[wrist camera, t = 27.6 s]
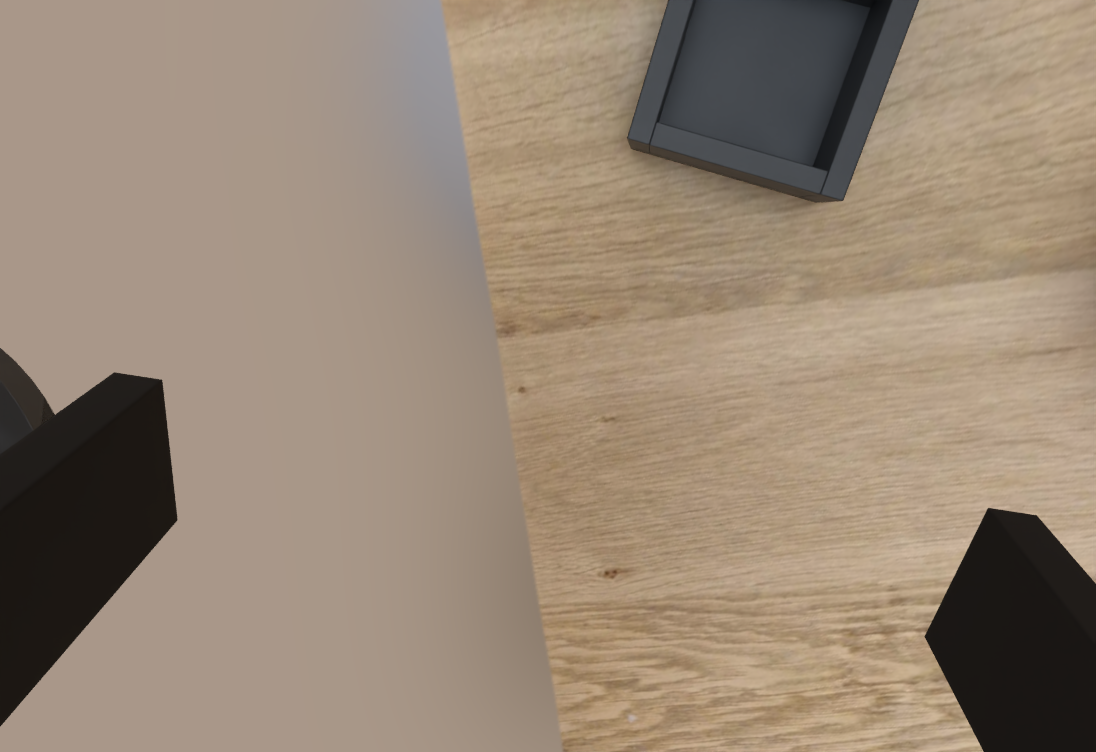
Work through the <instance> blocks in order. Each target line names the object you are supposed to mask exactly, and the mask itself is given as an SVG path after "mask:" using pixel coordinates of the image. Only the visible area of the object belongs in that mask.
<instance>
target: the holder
mask: <svg viewBox="0 0 1096 752" xmlns="http://www.w3.org/2000/svg"><path fill="white" fill-rule="evenodd" d="M918 2H919V0H668V3H667V7H666V10H665V13H664V17H663V20H662V23H661V27H660V30H659V33H658V37H657V40H656V43H655V47H654V50H653V53H652V57H651V60H650V63H649V67H648V70H647V73H646V77H645V80H644V84H643V87H642V90H641V94H640V97H639V100H638V104H637V107H636V110H635V114H634V117H633V120H632V124H631V127H630V130H629V134H628V137H627V138H628V141H629V144H630V147H631V148H632V149H634V150H637V151H641V152H644V153H648V154H651V155H654V156H658V157H661V158H665V159H668V160H672V161H675V162H679V163H682V164H685V165H689V166H692V167H696V168H699V169H703V170H706V171H709V172H713V173H716V174H720V175H723V176H727V177H730V178H734V179H737V180H740V181H744V182H747V183H751V184H754V185H758V186H761V187H765V188H768V189H771V190H775V191H778V192H782V193H785V194H789V195H792V196H795V197H799V198H802V199H806V200H809V201H813V202H834V201H843V200H844V197H845V195H846V192H847V189H848V187H849V184H850V181H851V179H852V176H853V174H854V171H855V168H856V166H857V163H858V160H859V158H860V155H861V152H862V150H863V147H864V144H865V142H866V139H867V137H868V134H869V131H870V129H871V126H872V123H873V121H874V118H875V115H876V113H877V110H878V107H879V105H880V102H881V99H882V97H883V94H884V92H885V89H886V86H887V84H888V81H889V78H890V76H891V73H892V70H893V68H894V65H895V62H896V60H897V57H898V55H899V52H900V49H901V47H902V44H903V41H904V39H905V36H906V33H907V31H908V28H909V25H910V23H911V20H912V18H913V15H914V12H915V10H916V7H917V4H918Z"/></svg>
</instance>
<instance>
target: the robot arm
mask: <svg viewBox="0 0 1096 752" xmlns="http://www.w3.org/2000/svg"><path fill="white" fill-rule="evenodd" d="M176 521H177V512H176V502H175V493H174V484H173V474H172V466H171V456H170V447H169V438H168V429H167V420H166V410H165V401H164V392H163V383H162V380H159V379H153V378H147V377H140V376H134V375H127V374H121V373H113V374H112V375H110V376H109V377H107V378H106V379H105V380H103V381H102V382H100V383H99V384H98V385H96V386H95V387H93V388H92V389H91V390H89V391H88V392H86V393H85V394H84V395H82V396H81V397H79V398H78V399H77V400H75V401H74V402H72V403H71V404H70V405H68V406H67V407H66V408H64V409H63V410H61V411H60V412H58V413H57V414H56V415H54V416H53V417H51V418H50V419H49V420H47V421H46V422H44V423H43V424H42V425H40V426H39V427H37V428H36V429H35V430H33V431H32V432H31V433H29V434H28V435H26V436H25V437H24V438H22V439H21V440H19V441H18V442H17V443H15V444H14V445H12V446H11V447H10V448H8V449H7V450H5V451H4V452H3V453H1V454H0V726H1V725H2V724H3V723H4V722H5V720H6V719H7V718H8V717H9V716H10V715H11V713H12V712H13V711H14V710H15V709H16V708H17V706H18V705H19V704H20V703H21V702H22V701H23V699H24V698H25V697H26V696H27V695H28V694H29V692H30V691H31V690H32V689H33V688H34V687H35V685H36V684H37V683H38V682H39V680H41V678H42V677H43V676H44V675H45V674H46V673H47V672H48V670H49V669H50V668H51V667H52V666H53V665H54V663H55V662H56V661H57V660H58V659H59V658H60V656H61V655H62V654H63V653H64V652H65V651H66V649H67V648H68V647H69V646H70V645H71V644H72V642H73V641H74V640H75V639H76V637H78V635H79V634H80V633H81V632H82V630H84V628H85V627H86V626H87V625H88V624H89V623H90V621H91V620H92V619H93V618H94V617H95V616H96V614H97V613H98V612H99V611H100V610H101V609H102V607H103V606H104V605H105V604H106V603H107V602H108V600H109V599H110V598H111V597H112V596H113V595H114V593H115V592H116V591H117V590H118V589H119V588H120V586H121V585H122V584H123V583H124V582H125V581H126V579H127V578H128V577H129V576H130V575H131V574H132V572H133V571H134V570H135V569H136V568H137V567H138V565H139V564H140V563H141V562H142V561H143V560H144V558H145V557H146V556H147V555H148V554H149V553H150V552H151V550H152V549H153V548H154V547H155V546H156V544H157V543H158V542H159V541H160V540H161V539H162V538H163V536H164V535H165V534H166V533H167V532H168V531H169V529H170V528H171V527H172V526H173V525H174V523H175V522H176ZM925 638H926V640H927V642H928V644H929V646H930V648H931V650H932V652H933V654H934V656H935V658H936V660H937V662H938V664H939V666H940V667H941V669H942V671H943V673H944V675H945V677H946V679H947V681H948V683H949V685H950V687H951V689H952V691H953V693H954V695H955V697H956V699H957V701H958V702H959V704H960V706H961V708H962V710H963V712H964V714H965V716H966V718H967V720H968V722H969V724H970V726H971V728H972V730H973V732H974V734H975V736H976V737H977V739H978V741H979V743H980V745H981V747H982V749H983V751H984V752H1096V583H1095V582H1094V581H1093V580H1092V579H1091V578H1090V577H1089V575H1088V574H1087V573H1086V572H1085V571H1084V570H1083V568H1082V567H1081V566H1080V565H1079V564H1078V563H1077V562H1076V560H1075V559H1074V558H1073V557H1072V556H1071V555H1070V553H1069V552H1068V551H1067V550H1066V549H1065V548H1064V546H1063V545H1062V544H1061V543H1060V542H1059V541H1058V540H1057V538H1056V537H1055V536H1054V535H1053V534H1052V533H1051V531H1050V530H1049V529H1048V528H1047V527H1046V526H1045V525H1044V523H1043V522H1042V521H1041V520H1040V519H1039V518H1038V516H1037V515H1030V514H1024V513H1017V512H1011V511H1004V510H998V509H992V508H988V509H987V511H986V513H985V515H984V517H983V519H982V521H981V523H980V525H979V528H978V530H977V532H976V534H975V536H974V538H973V540H972V542H971V544H970V546H969V548H968V550H967V552H966V554H965V556H964V558H963V560H962V562H961V564H960V566H959V568H958V570H957V572H956V574H955V576H954V578H953V580H952V582H951V584H950V586H949V588H948V590H947V592H946V594H945V596H944V598H943V600H942V603H941V605H940V607H939V609H938V611H937V613H936V615H935V617H934V619H933V621H932V623H931V625H930V627H929V629H928V631H927V633H926V635H925Z"/></svg>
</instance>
